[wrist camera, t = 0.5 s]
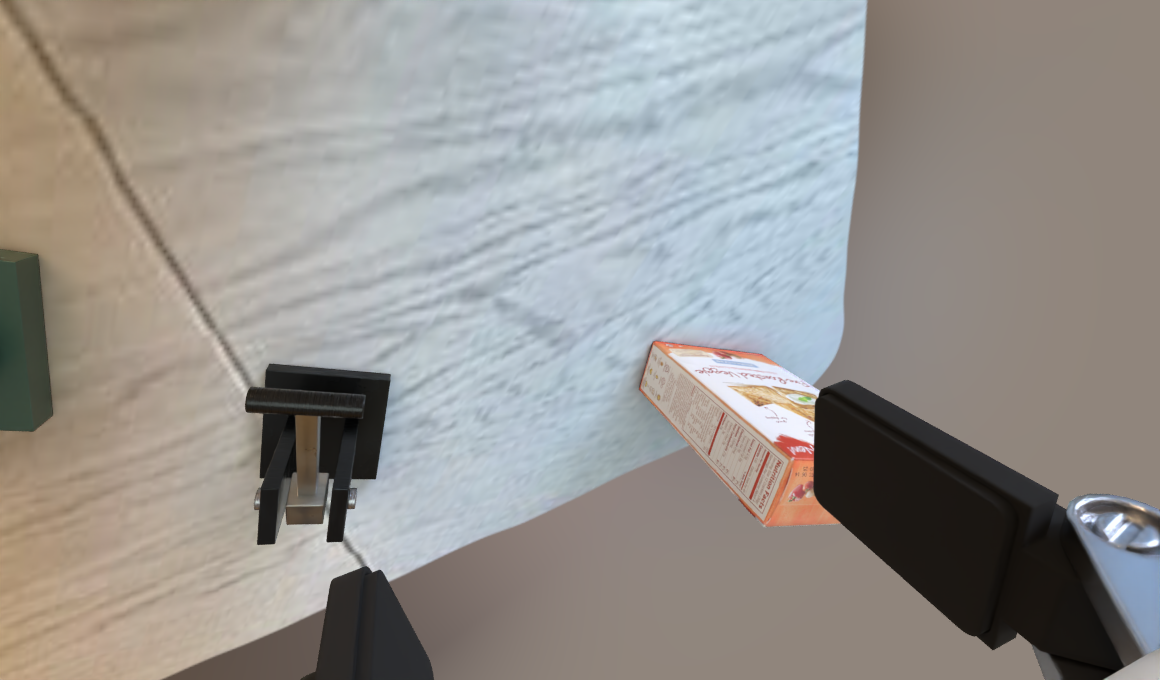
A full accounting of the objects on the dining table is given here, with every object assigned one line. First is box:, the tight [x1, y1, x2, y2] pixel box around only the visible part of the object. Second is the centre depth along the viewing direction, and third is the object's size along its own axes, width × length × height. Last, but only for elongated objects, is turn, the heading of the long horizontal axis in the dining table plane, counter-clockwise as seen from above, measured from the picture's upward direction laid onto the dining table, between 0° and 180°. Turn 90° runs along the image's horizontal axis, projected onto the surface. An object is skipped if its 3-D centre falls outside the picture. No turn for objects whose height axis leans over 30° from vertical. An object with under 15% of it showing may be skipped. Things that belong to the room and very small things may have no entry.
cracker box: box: [639, 341, 841, 527], centre depth 44 cm, size 14×6×21 cm, turn 75°
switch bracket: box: [254, 364, 391, 545], centre depth 37 cm, size 10×9×12 cm
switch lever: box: [245, 387, 366, 525], centre depth 30 cm, size 13×6×2 cm, turn 165°
